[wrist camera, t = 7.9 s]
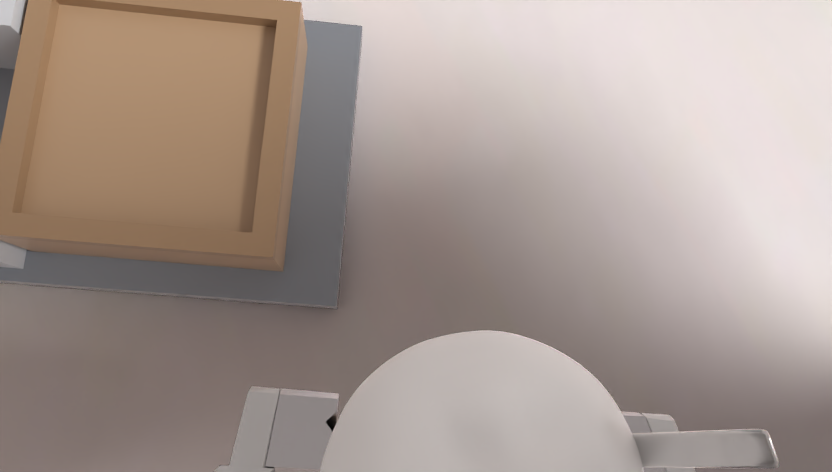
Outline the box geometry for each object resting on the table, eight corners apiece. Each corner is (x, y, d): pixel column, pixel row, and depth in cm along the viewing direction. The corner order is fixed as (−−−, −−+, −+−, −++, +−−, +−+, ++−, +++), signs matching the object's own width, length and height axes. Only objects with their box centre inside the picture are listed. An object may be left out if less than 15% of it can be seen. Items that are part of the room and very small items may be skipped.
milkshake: (554, 492, 17) (847, 655, 8) (348, 561, 16) (377, 845, 7) (503, 317, 18) (711, 260, 8) (301, 374, 17) (268, 384, 7)
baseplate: (361, 39, 31) (363, -27, 26) (336, 308, 28) (333, 295, 23) (-13, -1, 29) (-89, -78, 24) (-70, 277, 27) (-168, 256, 22)
